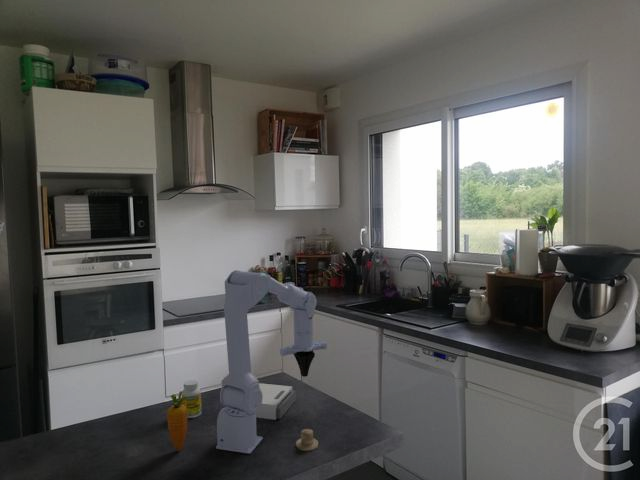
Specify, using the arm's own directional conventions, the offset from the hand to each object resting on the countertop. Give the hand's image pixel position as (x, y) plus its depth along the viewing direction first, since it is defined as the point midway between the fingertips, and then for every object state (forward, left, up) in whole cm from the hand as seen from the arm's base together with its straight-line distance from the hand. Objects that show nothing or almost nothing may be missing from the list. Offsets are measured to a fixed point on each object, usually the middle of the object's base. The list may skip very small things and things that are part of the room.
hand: (304, 375), depth 142 cm
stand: (+8, -22, -9) cm, 25 cm away
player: (-12, -4, -9) cm, 16 cm away
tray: (-10, -4, -9) cm, 14 cm away
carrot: (-22, -33, -10) cm, 41 cm away
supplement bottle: (-30, -14, -10) cm, 34 cm away
